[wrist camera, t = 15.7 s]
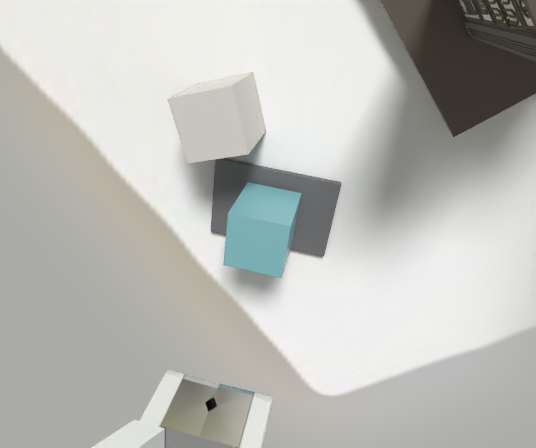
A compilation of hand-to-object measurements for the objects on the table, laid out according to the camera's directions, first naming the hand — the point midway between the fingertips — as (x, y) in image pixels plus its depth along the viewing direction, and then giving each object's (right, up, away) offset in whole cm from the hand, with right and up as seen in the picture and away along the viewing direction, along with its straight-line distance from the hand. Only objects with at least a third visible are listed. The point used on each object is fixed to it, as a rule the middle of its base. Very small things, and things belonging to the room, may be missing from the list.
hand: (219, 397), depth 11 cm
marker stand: (+2, +6, +30) cm, 31 cm away
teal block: (+2, +6, +29) cm, 30 cm away
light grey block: (-2, +15, +26) cm, 30 cm away
